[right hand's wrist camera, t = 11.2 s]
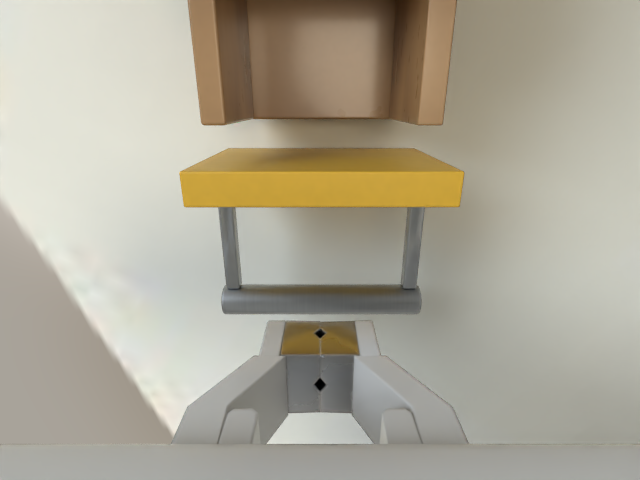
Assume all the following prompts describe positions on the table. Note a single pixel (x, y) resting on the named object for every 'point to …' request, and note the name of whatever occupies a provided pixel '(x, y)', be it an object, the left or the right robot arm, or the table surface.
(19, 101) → the table surface
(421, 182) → the drawer
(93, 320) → the table surface
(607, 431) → the table surface
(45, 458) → the right robot arm
